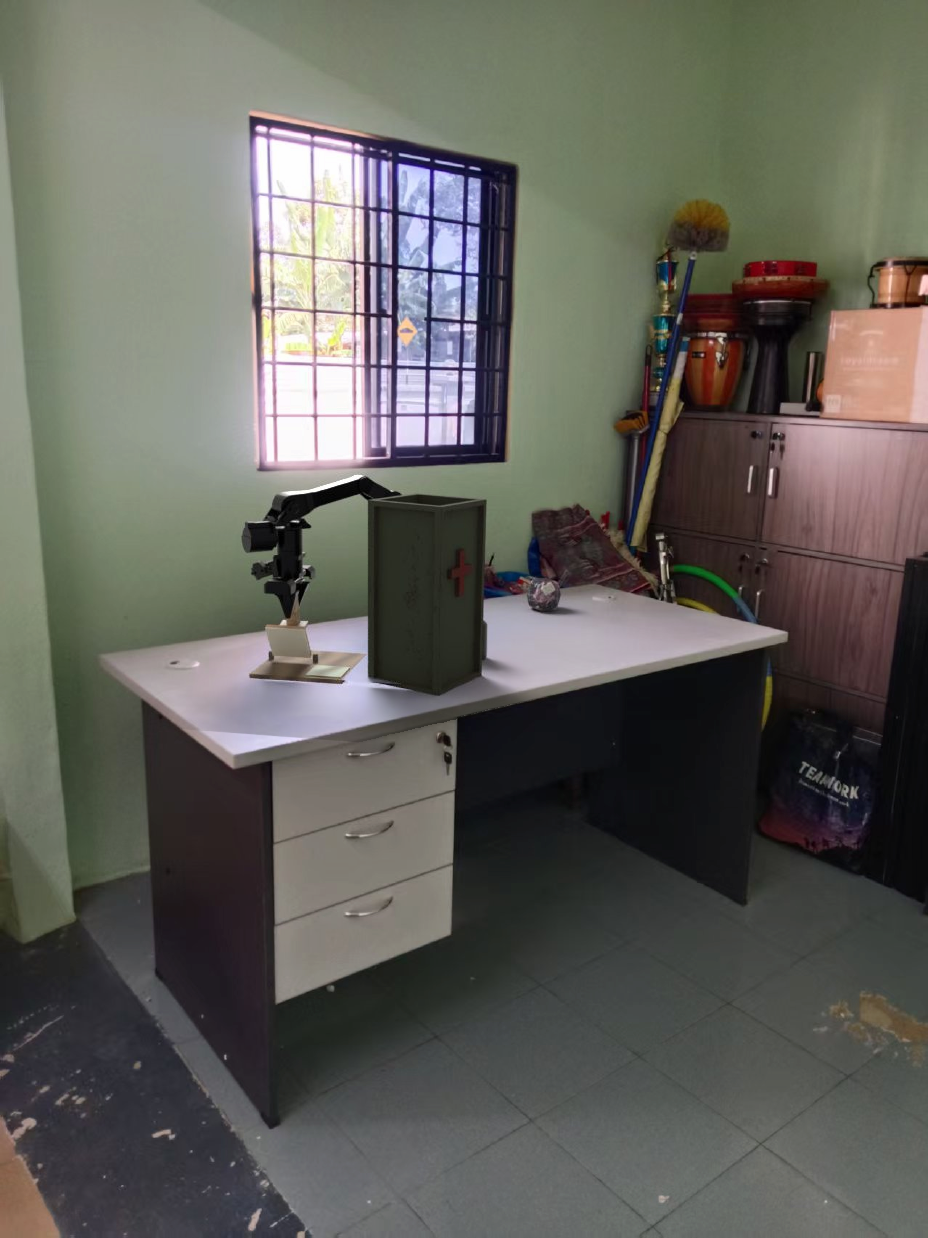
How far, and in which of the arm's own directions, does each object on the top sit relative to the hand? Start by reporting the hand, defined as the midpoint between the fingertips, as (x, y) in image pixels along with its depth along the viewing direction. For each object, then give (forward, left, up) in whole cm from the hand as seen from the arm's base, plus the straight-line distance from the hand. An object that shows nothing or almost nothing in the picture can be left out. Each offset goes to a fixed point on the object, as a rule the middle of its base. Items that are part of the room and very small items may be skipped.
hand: (291, 615), depth 224 cm
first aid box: (-32, +3, -12) cm, 34 cm away
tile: (0, +2, -5) cm, 5 cm away
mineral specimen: (-53, -74, -12) cm, 92 cm away
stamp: (0, 0, -3) cm, 3 cm away
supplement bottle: (-40, -16, -12) cm, 45 cm away
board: (-5, +1, -12) cm, 13 cm away
